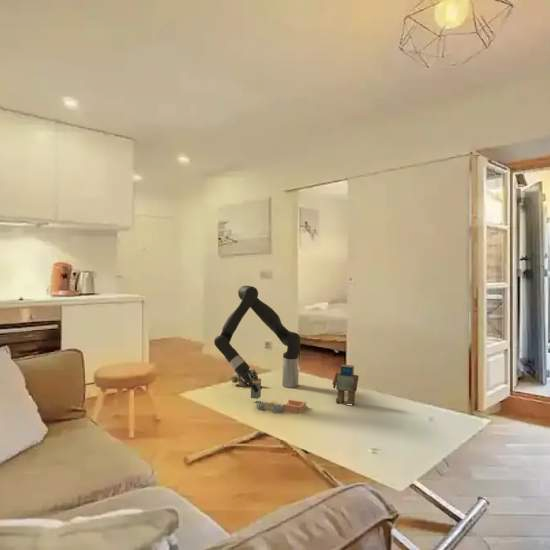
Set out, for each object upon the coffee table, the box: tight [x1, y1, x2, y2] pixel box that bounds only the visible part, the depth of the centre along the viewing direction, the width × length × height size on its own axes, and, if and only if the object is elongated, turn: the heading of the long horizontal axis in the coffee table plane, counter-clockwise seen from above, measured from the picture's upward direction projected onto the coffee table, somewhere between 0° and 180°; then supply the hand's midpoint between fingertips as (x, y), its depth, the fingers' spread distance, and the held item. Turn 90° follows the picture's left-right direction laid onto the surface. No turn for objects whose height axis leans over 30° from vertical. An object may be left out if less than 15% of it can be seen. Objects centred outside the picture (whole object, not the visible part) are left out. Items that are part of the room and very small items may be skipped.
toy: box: [332, 364, 359, 404], centre depth 230 cm, size 13×10×20 cm
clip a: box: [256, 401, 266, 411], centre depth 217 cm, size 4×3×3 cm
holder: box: [281, 399, 308, 414], centre depth 218 cm, size 11×11×3 cm
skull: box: [230, 368, 258, 387], centre depth 260 cm, size 10×16×10 cm, turn 88°
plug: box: [250, 375, 262, 400], centre depth 228 cm, size 4×4×12 cm
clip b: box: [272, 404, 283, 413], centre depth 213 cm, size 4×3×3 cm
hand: (259, 390), depth 228 cm, fingers closed on plug, 4 cm apart
